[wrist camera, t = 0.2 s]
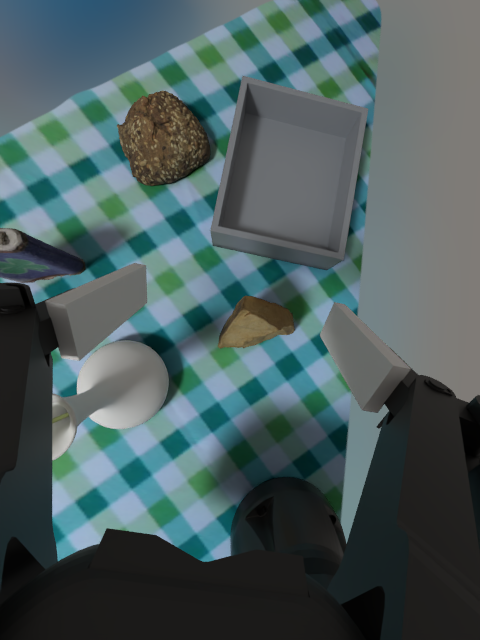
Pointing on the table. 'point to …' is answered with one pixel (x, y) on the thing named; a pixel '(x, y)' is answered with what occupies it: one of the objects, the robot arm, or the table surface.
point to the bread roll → (162, 139)
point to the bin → (289, 175)
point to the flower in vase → (111, 392)
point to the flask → (33, 258)
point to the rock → (255, 323)
